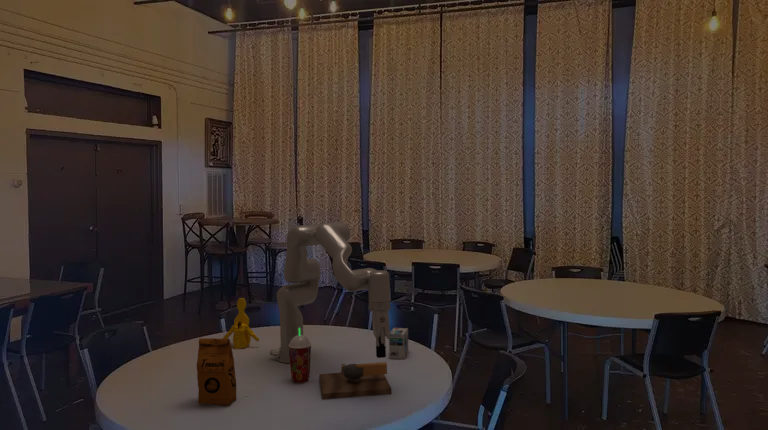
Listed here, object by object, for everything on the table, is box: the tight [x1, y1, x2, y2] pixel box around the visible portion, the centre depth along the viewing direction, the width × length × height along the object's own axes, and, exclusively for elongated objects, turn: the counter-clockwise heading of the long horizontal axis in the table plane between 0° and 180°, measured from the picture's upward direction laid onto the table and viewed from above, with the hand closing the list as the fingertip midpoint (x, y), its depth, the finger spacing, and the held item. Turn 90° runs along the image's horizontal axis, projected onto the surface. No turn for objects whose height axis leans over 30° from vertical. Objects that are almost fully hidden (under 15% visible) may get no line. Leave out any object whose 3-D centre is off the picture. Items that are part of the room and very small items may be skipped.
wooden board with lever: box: [318, 363, 392, 400], centre depth 199 cm, size 24×21×5 cm
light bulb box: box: [388, 327, 409, 360], centre depth 234 cm, size 11×7×11 cm, turn 168°
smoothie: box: [288, 328, 312, 384], centre depth 205 cm, size 8×8×20 cm
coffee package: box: [196, 337, 237, 406], centre depth 185 cm, size 10×12×22 cm
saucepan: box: [344, 361, 388, 379], centre depth 199 cm, size 16×7×4 cm, turn 100°
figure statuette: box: [221, 297, 260, 350], centre depth 250 cm, size 18×8×22 cm, turn 89°
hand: (381, 356), depth 194 cm, fingers closed
